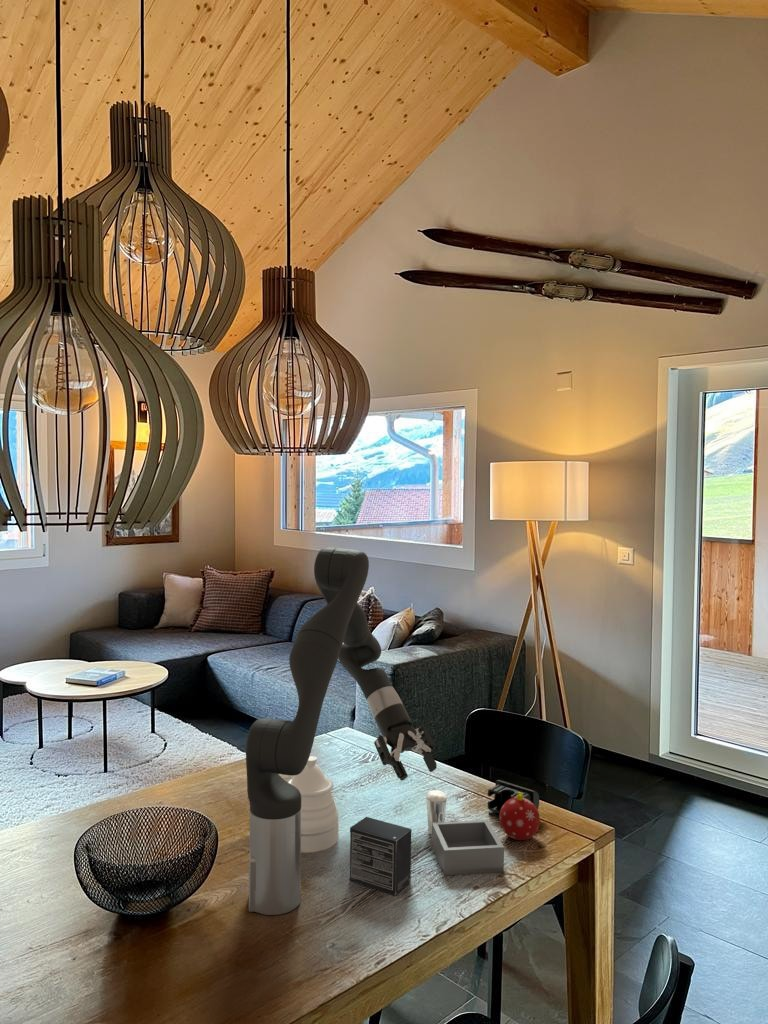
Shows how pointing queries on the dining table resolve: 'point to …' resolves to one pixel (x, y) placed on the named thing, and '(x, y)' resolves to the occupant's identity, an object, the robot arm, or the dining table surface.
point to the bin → (467, 847)
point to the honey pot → (316, 808)
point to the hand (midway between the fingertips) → (419, 774)
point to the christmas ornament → (519, 818)
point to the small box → (380, 855)
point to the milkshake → (435, 807)
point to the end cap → (508, 796)
